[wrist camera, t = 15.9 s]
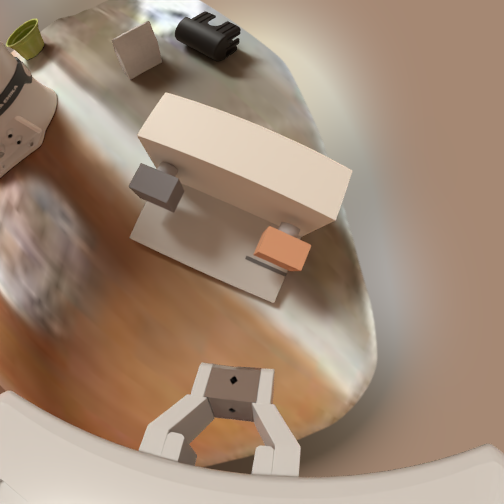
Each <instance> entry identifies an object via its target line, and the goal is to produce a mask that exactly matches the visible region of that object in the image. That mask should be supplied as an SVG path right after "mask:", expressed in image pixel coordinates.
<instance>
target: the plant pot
mask: <svg viewBox="0 0 504 504" xmlns="http://www.w3.org/2000/svg"><path fill="white" fill-rule="evenodd" d="M6 46H7V47H10V48H12V49H14V50H15V51H17V52H18V53H19V54H20V55H21V56H22V57H23V58H25V59H26V60H29V59H30V58H33V57H35V56H36V55H37V54H38V53H39V52H40V51H41V50H42V48H43V46H44V42H43V39H42V37H41V34H40V31H39V29H38V19H31V20H29V21H27V22H25V23H24V24H23V25H21V26H20V27H19V28H17V29H16V30H15V31H14V32H13V34H12V35H11V36H10V37H9V39H8V40H7V43H6Z"/></svg>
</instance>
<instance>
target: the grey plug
mask: <svg viewBox="0 0 504 504" xmlns="http://www.w3.org/2000/svg"><path fill="white" fill-rule="evenodd" d="M177 173H178V169H177V168H175V167H174V166H172V165H170V164H168V163H165V162H161V163H160V165H159V167H158V169H154V168H152V167H149V166H147V165H144V164H142V163H141V164H140V166H139V168H138V170H137V171H136V173H135V175H134V177H133V179H132V181H131V183H130V185H129V188H131V189H132V190H133V191H134V192H135V193H136V194H137V195H138V196H139V197H140V198H142V199H144V200H146V201H148V202H151V203H153V204H155V205H157V206H160V207H162V208H164V209H167V210H169V211H171V212H173V213H174V212H175V210H176V208H177V206H178V204H179V202H180V200H181V198H182V196H183V194H184V192H185V191H184V189H183V187H182V184H181V182H180V180H179V178H176V177H175V176H176V174H177Z"/></svg>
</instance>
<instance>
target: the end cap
mask: <svg viewBox="0 0 504 504" xmlns="http://www.w3.org/2000/svg"><path fill="white" fill-rule="evenodd" d="M215 17H216V16H215V15H213V14H210V13H208V12H206V11H205V12H203V13H201V14H199V15H198V16H196V17H194V18H192V19H190V18H188V17H185V18H184V19H183V20H182V21H181V22H180V23H179V24H178V26H177V28H176V30H175V37H176V39H177V40H178V41H180V42H182V43H184V44H186V45H188V46H190V47H192V48H193V49H195V50H197V51H199V52H201V53H203V54H205V55H206V56H208V57H210V58H212V59H213V60H216V61H221V60H223V59H225V58H226V57H228V56H229V55H231V54H232V53H233V52H235V51H236V50H237V46H236V45H238V44H239V38H237V39H235V40H234V41H233V40H232V39H233V38H235V37H236V36H238V35H240V28H239V27H238V26H236V25H234V24H232V23H230V22H228V21H227V22H225V23H224V24H222V25H219V26H211V25H209V24H208V22H209V21H210V20H212V19H214V18H215Z"/></svg>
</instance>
